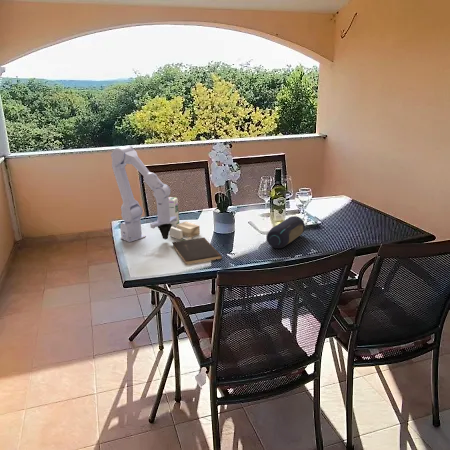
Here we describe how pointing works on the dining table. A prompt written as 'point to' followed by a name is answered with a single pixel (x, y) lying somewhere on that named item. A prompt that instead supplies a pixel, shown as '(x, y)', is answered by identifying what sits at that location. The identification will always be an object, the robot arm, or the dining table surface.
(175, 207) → the syrup box
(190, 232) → the tan cardboard box
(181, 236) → the cream white block
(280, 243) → the portable speaker
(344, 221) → the dining table surface
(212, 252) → the hardcover book
